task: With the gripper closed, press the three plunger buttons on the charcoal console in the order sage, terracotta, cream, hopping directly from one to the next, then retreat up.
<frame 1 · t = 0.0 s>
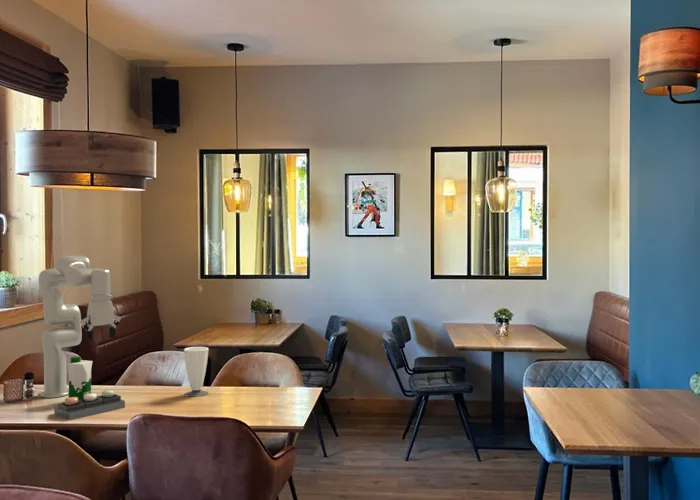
hand: (101, 338, 250), 31 cm above the table, fingers open, 9 cm apart
panel: (90, 410, 253), on the table
button terracotta: (71, 400, 247), point 6 cm above the table, slide at 0.0 cm
button cream: (90, 397, 253), point 6 cm above the table, slide at 0.0 cm
button sage: (108, 393, 259), point 6 cm above the table, slide at 0.0 cm
cup: (196, 394, 281), on the table
milk carton: (80, 402, 268), on the table
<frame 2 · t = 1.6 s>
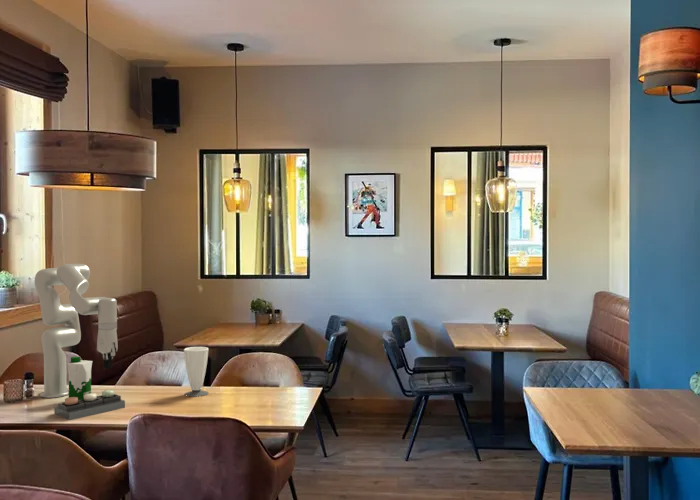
hand: (108, 368, 259), 17 cm above the table, fingers closed
nothing on the table moved.
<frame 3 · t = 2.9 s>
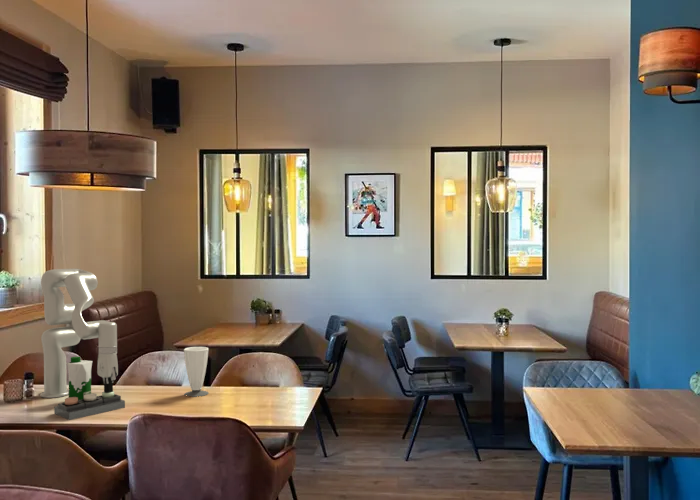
hand: (108, 392, 259), 6 cm above the table, fingers closed
button sage: (108, 394, 259), point 5 cm above the table, slide at 0.4 cm, touching gripper
everything else where it was.
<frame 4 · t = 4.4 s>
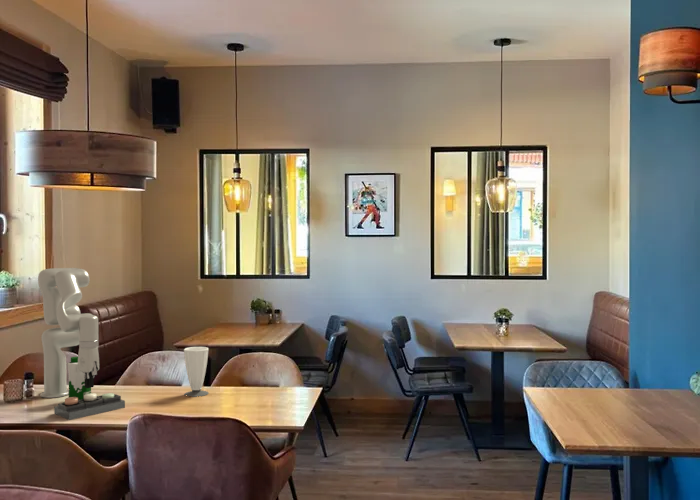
hand: (89, 387, 252), 10 cm above the table, fingers closed
button sage: (108, 396, 259), point 4 cm above the table, slide at 1.5 cm
everything else where it was.
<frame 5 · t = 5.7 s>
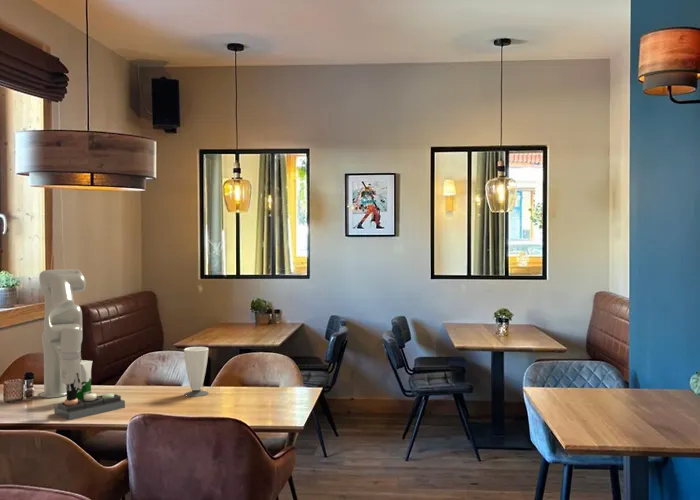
hand: (71, 399, 246), 6 cm above the table, fingers closed
button terracotta: (71, 402, 247), point 5 cm above the table, slide at 0.5 cm, touching gripper
everything else where it was.
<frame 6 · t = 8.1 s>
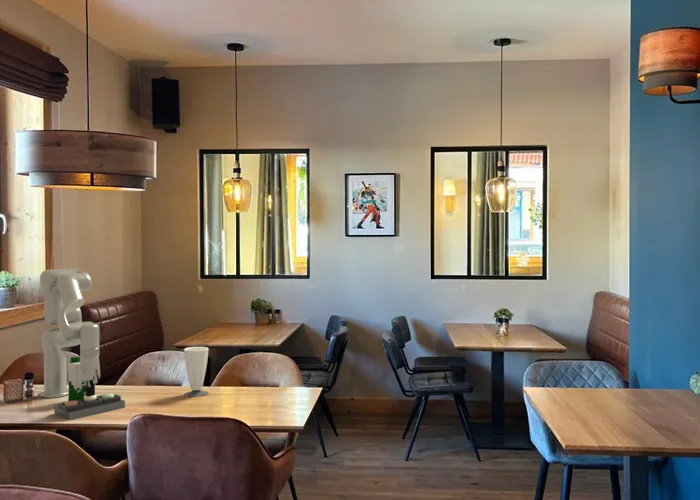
hand: (90, 395, 253), 6 cm above the table, fingers closed
button terracotta: (71, 404, 247), point 4 cm above the table, slide at 1.5 cm
button cream: (90, 397, 253), point 5 cm above the table, slide at 0.4 cm, touching gripper
everything else where it was.
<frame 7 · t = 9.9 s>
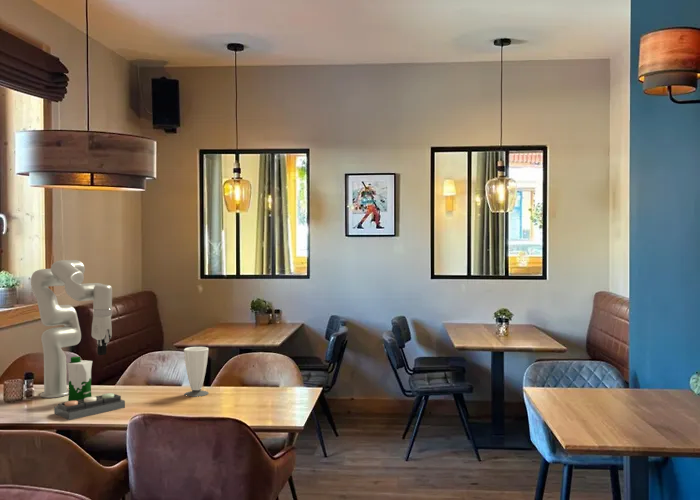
hand: (101, 354, 259), 23 cm above the table, fingers closed
button cream: (90, 400, 253), point 4 cm above the table, slide at 1.5 cm
everything else where it was.
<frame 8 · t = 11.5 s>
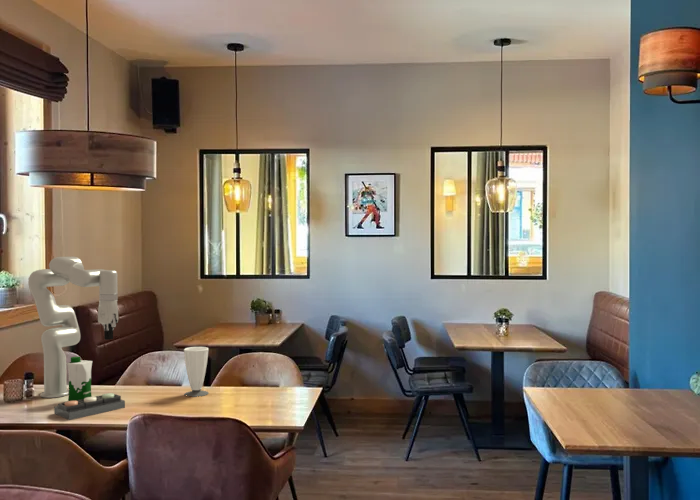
hand: (108, 339, 262), 29 cm above the table, fingers closed
nothing on the table moved.
at the end: button sage slide at 1.5 cm; button terracotta slide at 1.5 cm; button cream slide at 1.5 cm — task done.
